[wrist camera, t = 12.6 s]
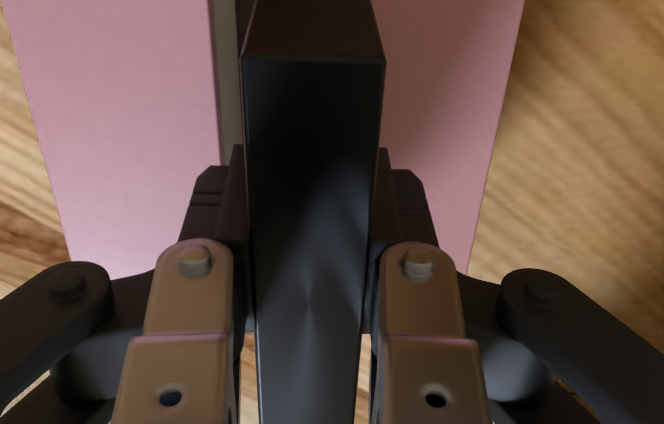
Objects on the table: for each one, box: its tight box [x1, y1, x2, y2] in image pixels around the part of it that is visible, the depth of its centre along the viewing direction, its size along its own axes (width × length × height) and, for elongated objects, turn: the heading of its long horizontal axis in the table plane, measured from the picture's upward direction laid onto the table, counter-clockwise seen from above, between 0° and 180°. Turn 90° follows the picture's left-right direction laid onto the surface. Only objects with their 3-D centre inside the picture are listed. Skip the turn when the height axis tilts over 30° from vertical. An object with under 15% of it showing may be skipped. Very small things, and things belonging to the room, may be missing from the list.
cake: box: [1, 0, 243, 280], centre depth 17 cm, size 11×4×4 cm, turn 178°
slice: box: [371, 0, 525, 275], centre depth 18 cm, size 11×4×4 cm, turn 178°
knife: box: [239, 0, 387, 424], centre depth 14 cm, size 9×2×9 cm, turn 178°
